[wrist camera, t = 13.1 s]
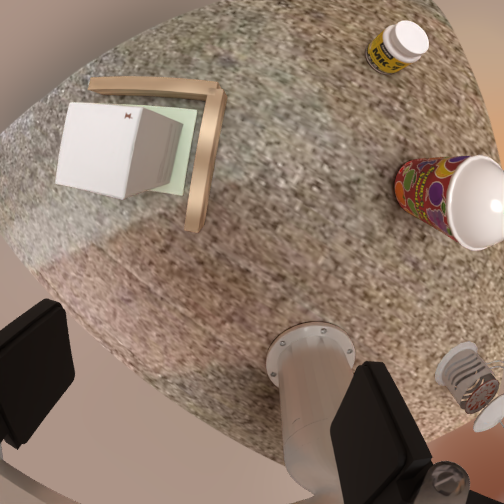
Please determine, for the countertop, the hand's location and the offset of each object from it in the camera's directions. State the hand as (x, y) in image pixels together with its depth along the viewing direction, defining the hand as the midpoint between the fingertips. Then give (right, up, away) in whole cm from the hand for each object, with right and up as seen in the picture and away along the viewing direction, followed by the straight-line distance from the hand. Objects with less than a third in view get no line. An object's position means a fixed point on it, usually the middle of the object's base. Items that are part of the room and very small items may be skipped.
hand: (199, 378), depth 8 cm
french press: (+38, -16, +33) cm, 53 cm away
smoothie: (+21, +12, +25) cm, 35 cm away
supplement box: (-10, +16, +24) cm, 30 cm away
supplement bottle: (+17, +27, +20) cm, 38 cm away
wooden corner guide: (-10, +16, +24) cm, 31 cm away
